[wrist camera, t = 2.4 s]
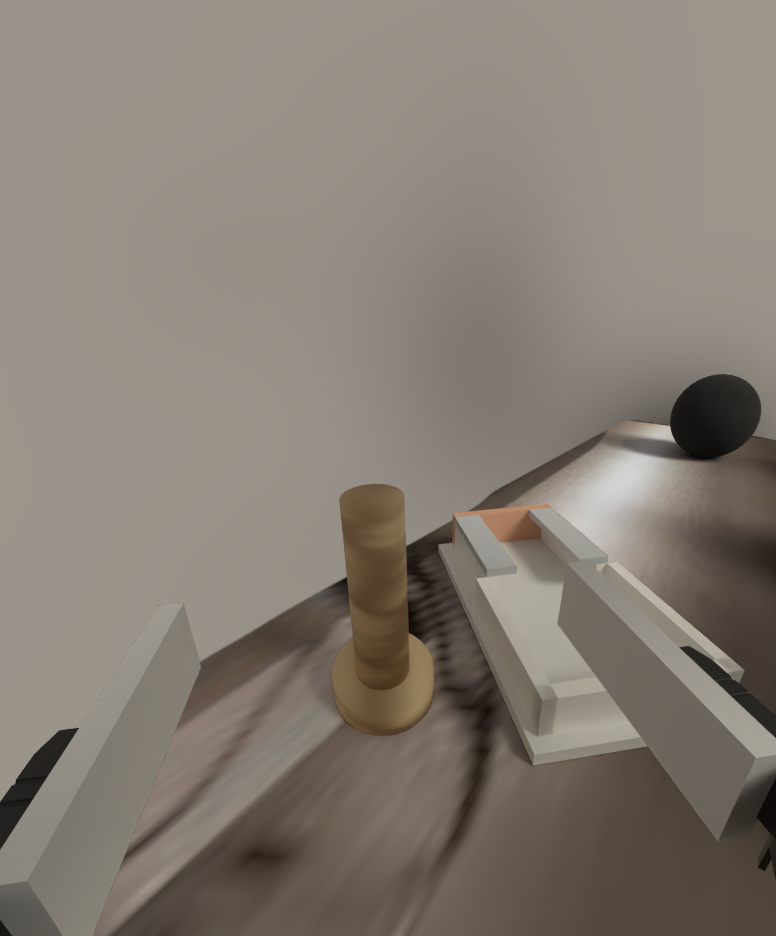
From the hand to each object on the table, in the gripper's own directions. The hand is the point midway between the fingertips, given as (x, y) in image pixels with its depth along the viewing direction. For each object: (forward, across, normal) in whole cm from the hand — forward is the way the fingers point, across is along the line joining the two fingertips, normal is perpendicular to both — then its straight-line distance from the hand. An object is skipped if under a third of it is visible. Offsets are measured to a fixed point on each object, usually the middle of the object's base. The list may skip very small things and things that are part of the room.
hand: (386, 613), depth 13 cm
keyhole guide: (+16, +17, -16) cm, 28 cm away
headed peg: (+11, +1, -16) cm, 20 cm away
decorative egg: (+50, +66, -16) cm, 84 cm away
